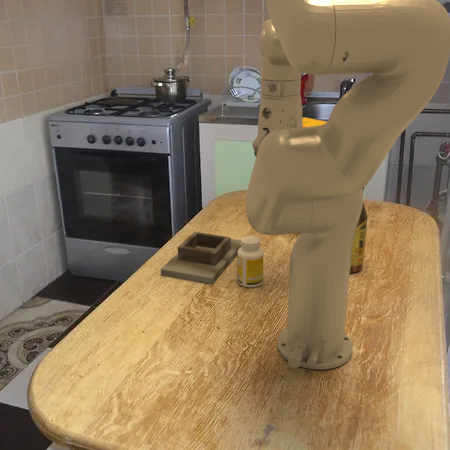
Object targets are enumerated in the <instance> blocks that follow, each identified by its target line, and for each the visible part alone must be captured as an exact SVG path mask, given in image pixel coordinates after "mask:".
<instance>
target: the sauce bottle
mask: <svg viewBox="0 0 450 450" xmlns="http://www.w3.org/2000/svg"><path fill="white" fill-rule="evenodd" d="M365 187H366V186H365ZM365 187H364V188H363V194H365V193H364V190H365ZM368 218H369V217H368V215H367V210H366V207H365V203H364V202H363V206H362V210H361V214H360V218H359V221H358V224H357V228H356V231H355V236H354V241H353V247H352V256H351V266H350V273H352V274H353V273H357V272H360V271H361V270H362V268H363V265H364V260H365V259H364V258H365V248H366V241H367V240H366V239H367V230H368V229H367V227H368Z"/></svg>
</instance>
